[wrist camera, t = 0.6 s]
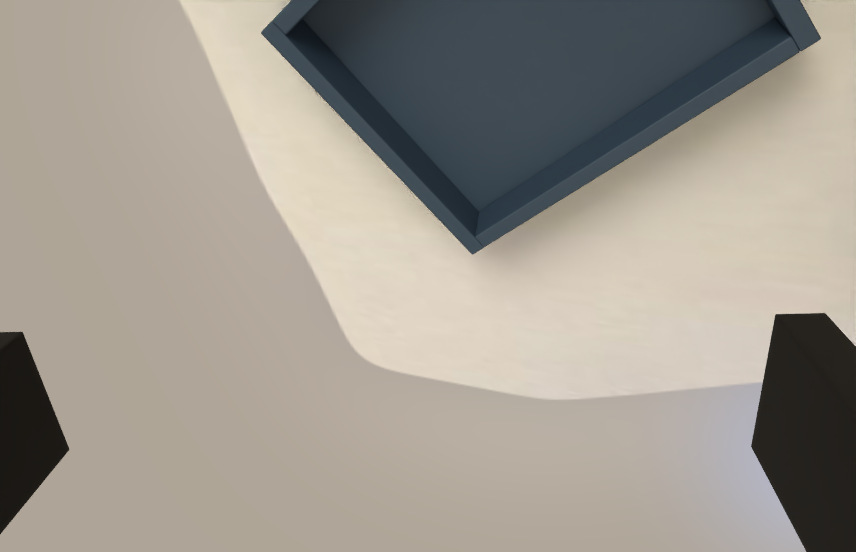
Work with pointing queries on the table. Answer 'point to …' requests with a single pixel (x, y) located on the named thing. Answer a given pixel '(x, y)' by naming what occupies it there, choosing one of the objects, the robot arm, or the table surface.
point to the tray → (525, 87)
